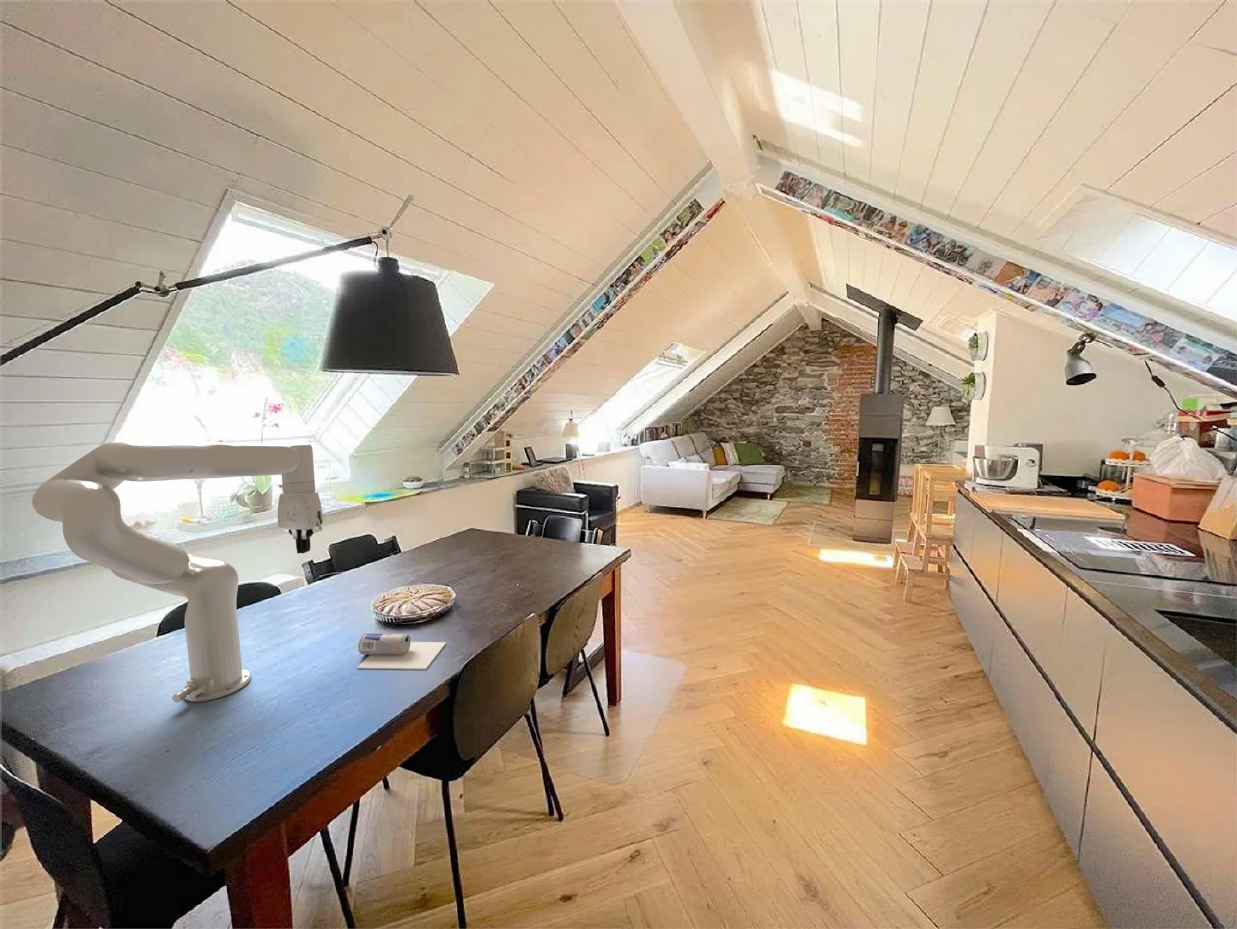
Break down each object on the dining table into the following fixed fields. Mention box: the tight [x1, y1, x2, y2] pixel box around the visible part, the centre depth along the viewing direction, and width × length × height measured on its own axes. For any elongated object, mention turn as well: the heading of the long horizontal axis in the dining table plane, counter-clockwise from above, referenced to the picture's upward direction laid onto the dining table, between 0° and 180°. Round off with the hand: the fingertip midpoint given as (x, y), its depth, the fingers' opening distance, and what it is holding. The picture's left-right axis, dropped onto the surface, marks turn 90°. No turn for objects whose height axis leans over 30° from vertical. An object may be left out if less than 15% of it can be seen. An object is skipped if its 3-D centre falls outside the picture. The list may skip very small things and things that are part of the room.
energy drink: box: [357, 633, 411, 655], centre depth 132 cm, size 5×5×12 cm
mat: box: [356, 641, 447, 671], centre depth 132 cm, size 14×18×1 cm
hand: (303, 551), depth 135 cm, fingers closed
